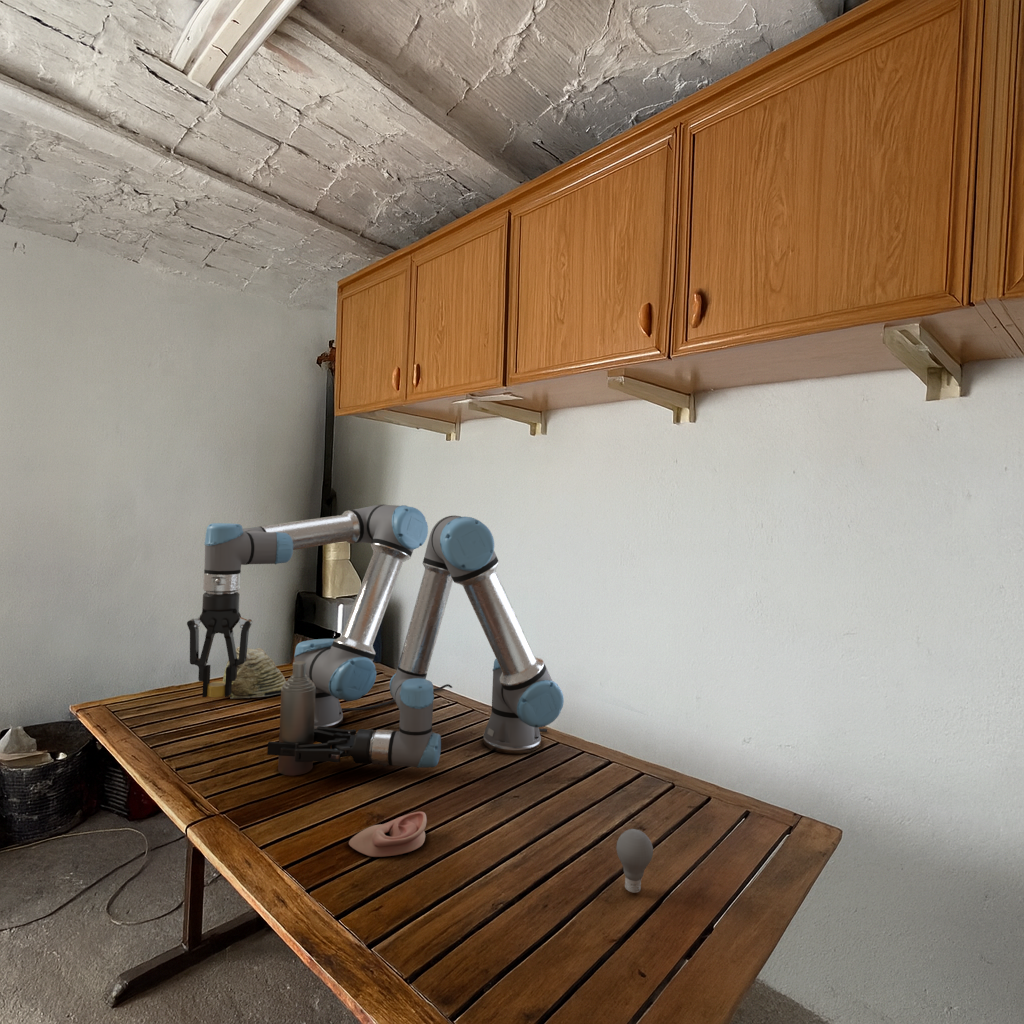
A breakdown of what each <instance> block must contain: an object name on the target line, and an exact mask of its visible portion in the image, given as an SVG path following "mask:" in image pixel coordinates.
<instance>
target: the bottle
mask: <svg viewBox="0 0 1024 1024" xmlns="http://www.w3.org/2000/svg"><path fill="white" fill-rule="evenodd" d="M305 674H306V662H304V661H296V662H295V661H293V662H292V675H290V677H289V678H288V679H287V680H286V682H285V684H283V687H282V688H281V693H280V708H279V709H280V711H279V712H280V713H279V738H278V742H284V743H296V742H298V745H308V744H315V743H314V719H315V692H316V686H315V684H314V683H313V682H312V680H310V678H309V677H307V675H305ZM277 762H278V765H277V771H278V773H279V774H281V775H284V776H300V775H305V774H307V773H309V772H311V771H312V770H313V768H314V762H296V761H295V756H279V755H278V761H277Z"/></svg>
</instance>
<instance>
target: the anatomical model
mask: <svg viewBox="0 0 1024 1024" xmlns="http://www.w3.org/2000/svg"><path fill="white" fill-rule="evenodd" d="M427 821H428V819H427V814H426V813H425V812H424V811H414V812H411V813H408V814H404V815H402V816H399V817H396V818H395V819H391V820H390V821H388V822H385V823H382V824H381V823H380V824H374V825H371V826H369V827H366V828H364V829H362V830H361V831H359V832H358V833H356V834H355V835H354V836H352V837H351V838H350V839H349V841H348V845H349V847H351V848H352V849H353V850H355V851H356V852H358V853H360V854H362V855H365V856H367V857H371V858H372V857H373V858H382V857H391V856H399V855H403V854H407V853H410V852H412V851H413V852H414V851H415V850H417V849H419V848H420V847H422V846H423V845H424V843H425V842H426V832H425V829H426V827H427Z"/></svg>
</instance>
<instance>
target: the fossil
mask: <svg viewBox="0 0 1024 1024" xmlns="http://www.w3.org/2000/svg"><path fill="white" fill-rule="evenodd" d="M239 649H240V646H238V647H237V648H236V654H237V659H239ZM228 665H230V664H229V659H228V660H227V663H226V666H225V668H224V671H223V675H222V676H223V677H222V682H226V668H227V667H228ZM286 681H287V680H286V678H285V676H284V674H283V673H282V672H281V669H279V668H278V667H277V665H276V663H275V662H274V660H273V659H272V658H271V657H270V656H269V655H268V654H267V653H266V652H265V650H264V649H263V648H260V647H258V648H251V647H247V657H246V661H245V662H244V663H243V664H241V665H238V666H237V678H236V680H235V681H232V688H231V694H230V695H229V698H230V699H250V698H264V697H271V696H275V695H281V688H282V687H283V684H285V682H286Z"/></svg>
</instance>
